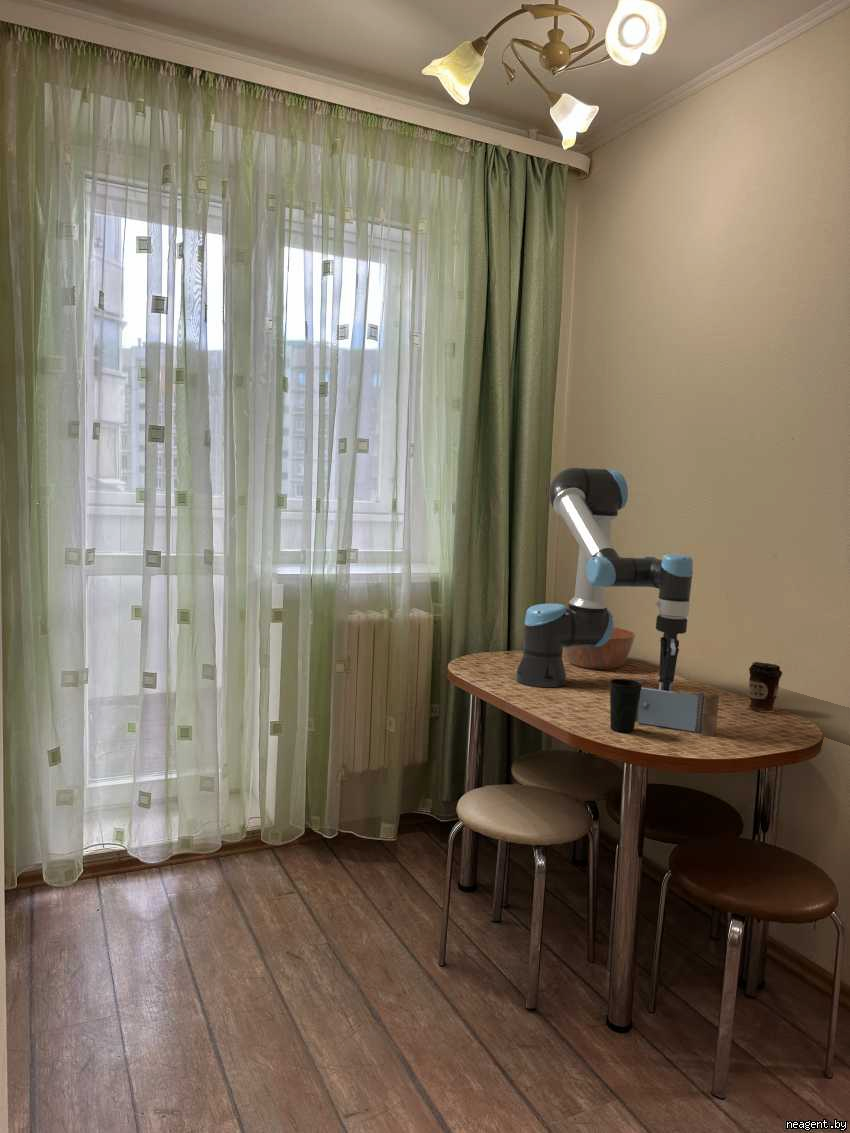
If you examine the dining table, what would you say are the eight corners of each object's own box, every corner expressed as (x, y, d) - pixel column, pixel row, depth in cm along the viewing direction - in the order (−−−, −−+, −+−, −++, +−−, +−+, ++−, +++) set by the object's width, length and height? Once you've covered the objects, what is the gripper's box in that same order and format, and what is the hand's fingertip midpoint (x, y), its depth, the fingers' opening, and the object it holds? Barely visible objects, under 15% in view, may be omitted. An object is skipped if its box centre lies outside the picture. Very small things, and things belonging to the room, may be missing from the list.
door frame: (626, 719, 222) (629, 681, 221) (629, 717, 224) (632, 680, 223) (713, 736, 211) (717, 696, 210) (715, 734, 213) (719, 695, 212)
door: (701, 732, 215) (704, 692, 214) (700, 734, 212) (704, 695, 211) (638, 722, 220) (641, 684, 219) (636, 724, 218) (640, 686, 217)
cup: (602, 724, 216) (606, 678, 215) (631, 725, 217) (635, 679, 216) (611, 734, 209) (615, 685, 207) (642, 734, 209) (646, 686, 208)
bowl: (543, 664, 285) (546, 630, 284) (575, 653, 305) (578, 621, 304) (614, 677, 271) (617, 641, 270) (643, 665, 291) (646, 632, 290)
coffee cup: (762, 715, 234) (766, 668, 233) (738, 707, 241) (742, 661, 240) (784, 712, 238) (788, 666, 237) (760, 704, 245) (764, 660, 244)
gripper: (653, 610, 224) (645, 698, 227) (661, 619, 211) (651, 712, 214) (682, 613, 223) (674, 701, 226) (692, 621, 210) (682, 715, 213)
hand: (663, 706), depth 220 cm, fingers closed
